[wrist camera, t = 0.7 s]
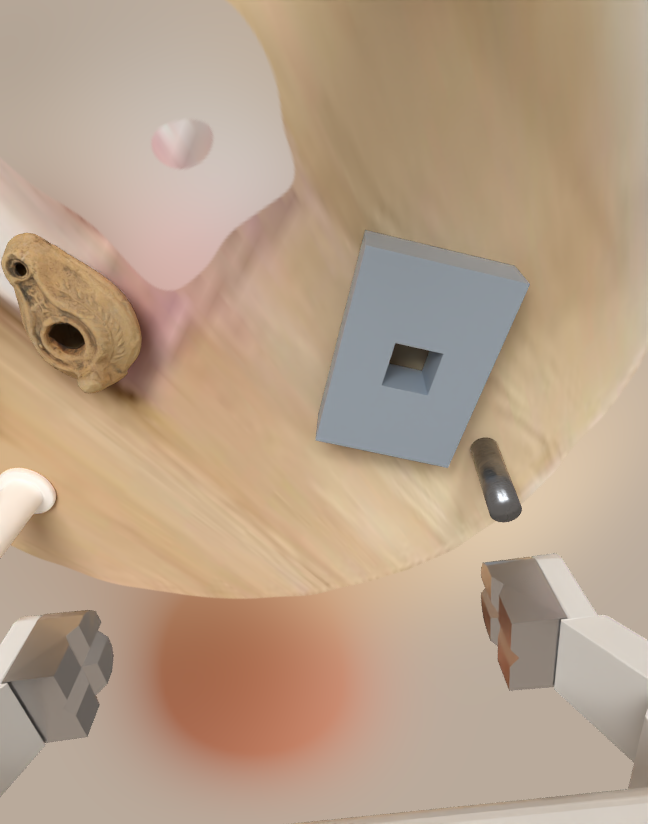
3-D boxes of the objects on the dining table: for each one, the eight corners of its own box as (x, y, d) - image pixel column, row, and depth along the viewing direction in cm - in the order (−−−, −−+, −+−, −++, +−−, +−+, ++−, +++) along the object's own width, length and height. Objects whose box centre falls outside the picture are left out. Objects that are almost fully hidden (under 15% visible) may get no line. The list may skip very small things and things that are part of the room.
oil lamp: (60, 202, 47) (10, 222, 40) (177, 331, 53) (151, 367, 46) (-12, 271, 51) (-69, 300, 44) (105, 383, 57) (71, 424, 50)
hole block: (365, 230, 47) (366, 245, 42) (514, 265, 48) (529, 284, 43) (318, 413, 57) (315, 440, 53) (441, 439, 58) (447, 467, 54)
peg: (476, 435, 58) (496, 496, 49) (502, 440, 58) (526, 502, 50) (466, 456, 59) (484, 518, 51) (491, 461, 60) (513, 524, 51)
